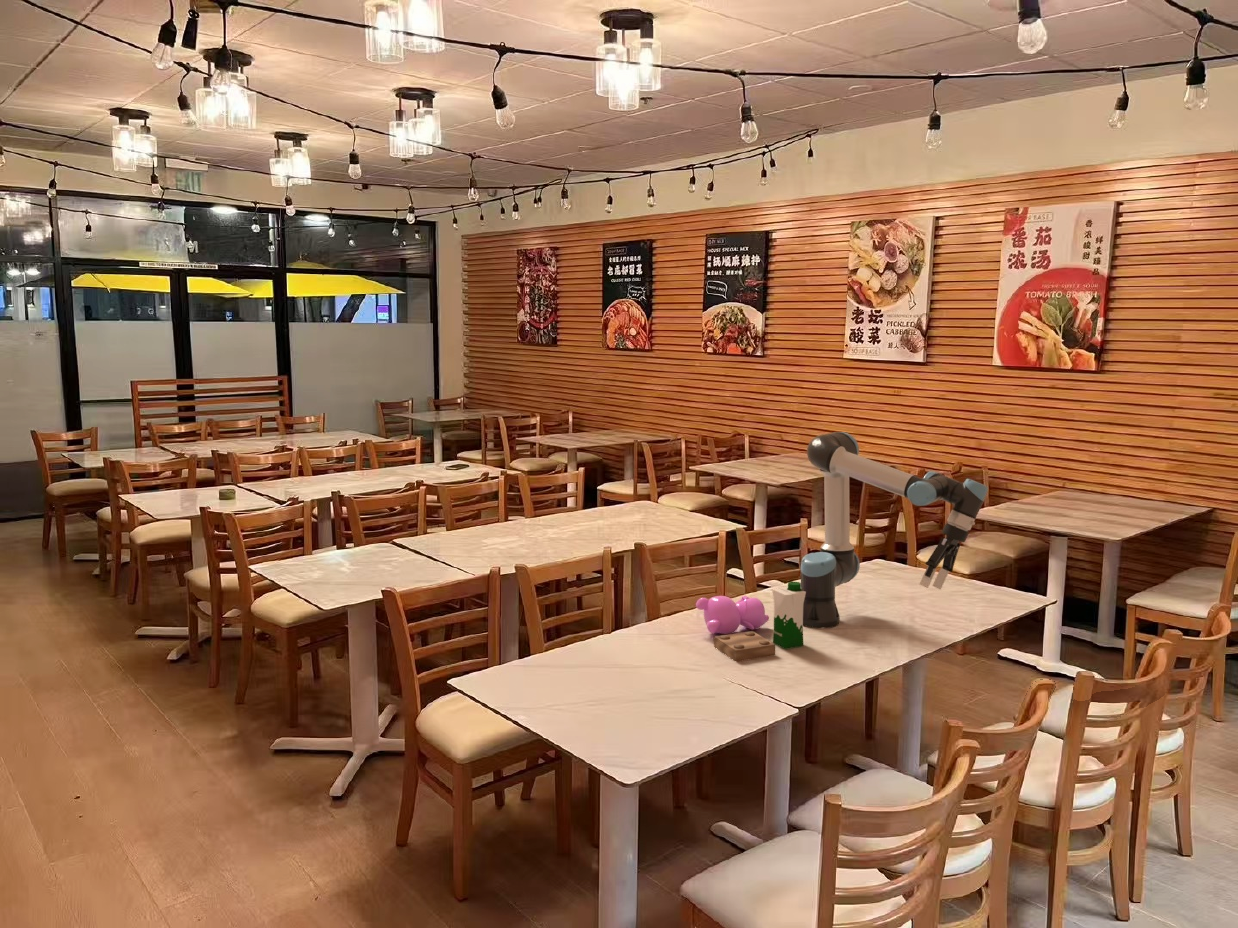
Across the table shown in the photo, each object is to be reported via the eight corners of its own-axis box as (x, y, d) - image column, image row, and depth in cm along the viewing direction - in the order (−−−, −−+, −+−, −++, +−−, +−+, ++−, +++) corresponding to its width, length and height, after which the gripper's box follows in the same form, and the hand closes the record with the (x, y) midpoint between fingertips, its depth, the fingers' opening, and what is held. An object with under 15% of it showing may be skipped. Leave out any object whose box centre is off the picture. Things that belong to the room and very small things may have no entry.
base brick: (714, 648, 289) (714, 635, 288) (752, 642, 294) (752, 630, 293) (735, 663, 276) (735, 649, 275) (775, 656, 281) (775, 643, 280)
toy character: (745, 613, 319) (685, 611, 308) (760, 585, 312) (700, 583, 301) (764, 645, 307) (702, 645, 296) (781, 618, 301) (718, 616, 290)
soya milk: (807, 646, 289) (808, 585, 286) (784, 650, 285) (785, 589, 282) (791, 638, 297) (792, 579, 294) (768, 642, 293) (769, 582, 290)
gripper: (958, 528, 275) (929, 590, 278) (979, 534, 295) (952, 593, 298) (935, 518, 280) (906, 580, 282) (957, 525, 300) (931, 583, 302)
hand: (930, 587), depth 290 cm, fingers open, 13 cm apart
